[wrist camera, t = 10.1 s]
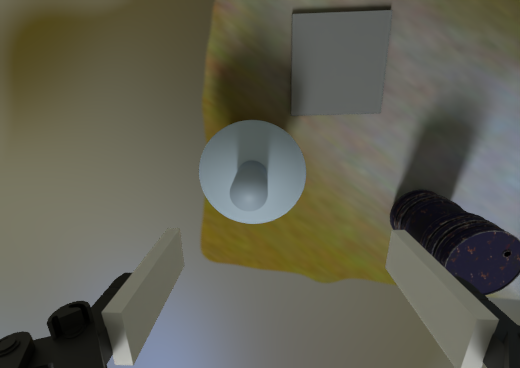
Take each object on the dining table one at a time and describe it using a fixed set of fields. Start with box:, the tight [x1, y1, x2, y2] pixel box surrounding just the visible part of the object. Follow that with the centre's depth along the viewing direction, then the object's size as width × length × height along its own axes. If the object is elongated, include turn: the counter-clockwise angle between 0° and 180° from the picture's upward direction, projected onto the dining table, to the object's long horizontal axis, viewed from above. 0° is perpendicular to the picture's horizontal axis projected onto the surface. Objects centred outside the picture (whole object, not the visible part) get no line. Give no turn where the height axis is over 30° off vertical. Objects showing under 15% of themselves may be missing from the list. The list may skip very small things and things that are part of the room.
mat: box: [291, 10, 392, 116], centre depth 38 cm, size 14×14×1 cm
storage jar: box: [390, 190, 520, 295], centre depth 39 cm, size 10×10×15 cm
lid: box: [199, 120, 306, 224], centre depth 30 cm, size 14×14×8 cm
